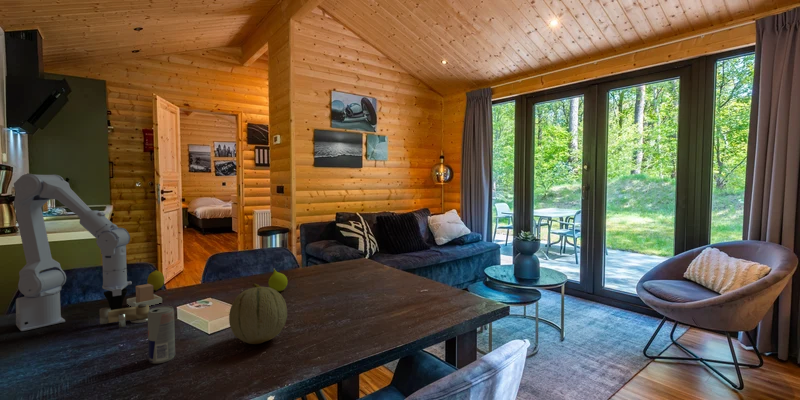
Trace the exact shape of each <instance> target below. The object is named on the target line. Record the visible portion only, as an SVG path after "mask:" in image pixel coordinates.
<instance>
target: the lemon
mask: <svg viewBox="0 0 800 400" xmlns="http://www.w3.org/2000/svg"><path fill="white" fill-rule="evenodd" d="M146 284H151V285H153V291H159V289H161V288H162V287H163V286H164V285H165V276H164V274H163V272H161V271H159V270H157V269H156V270H153V271H151V273H149V274H148V276H147V283H146Z"/></svg>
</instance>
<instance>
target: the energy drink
mask: <svg viewBox="0 0 800 400" xmlns="http://www.w3.org/2000/svg"><path fill="white" fill-rule="evenodd" d="M175 327H176V326H175V309H174V307H173V306H171V305H161V306H156V307H153V308H149V312H148V321H147V342H148V343H147V344H148V346H147V349H148V362H149V363H150V364H163V363H166V362H169V361H171V360H172V359H174V357H175V356H176V343H175V342H176V340H175V339H176V337H175V336H176V334H175V333H176V332H175V329H176V328H175Z"/></svg>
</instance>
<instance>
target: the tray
mask: <svg viewBox="0 0 800 400" xmlns="http://www.w3.org/2000/svg"><path fill="white" fill-rule="evenodd" d="M159 303H162V304H163V297H161V296H158V295H157V294H155V293H154V299H153V300H148V301H144V302H139V303H136V296H134V297H130V298H126V305H127V304H128V305H129V306H128V305H127V306H128V307H130V306H131V307H137V306H138V305H139V304H146V305H149V306H150V307H152V306H151V305H154V306H156V305H155V304H159ZM159 305H160V304H159Z"/></svg>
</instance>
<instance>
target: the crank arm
mask: <svg viewBox="0 0 800 400" xmlns="http://www.w3.org/2000/svg"><path fill="white" fill-rule="evenodd" d="M149 310H150V307H149V305H146V304H139V305H138V306H137V307H130V306H128V307H122V309H114V310H111V308H110V307H102V308H99V325H105V324H110V323H117V322H118V323H119V314H122V313H125V314H126V321H131V320H132V319H144V318H147V317H148V312H149Z"/></svg>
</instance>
